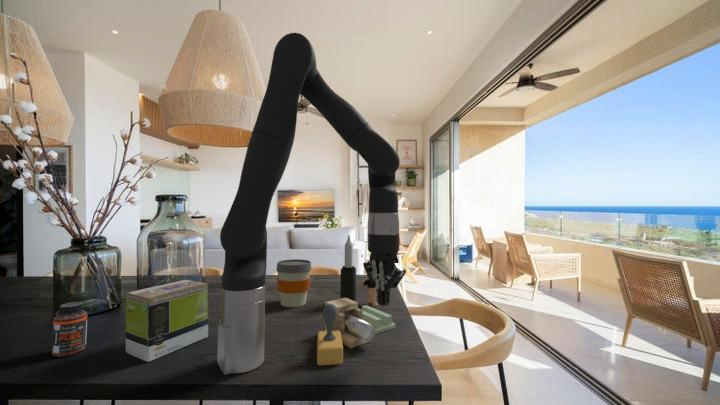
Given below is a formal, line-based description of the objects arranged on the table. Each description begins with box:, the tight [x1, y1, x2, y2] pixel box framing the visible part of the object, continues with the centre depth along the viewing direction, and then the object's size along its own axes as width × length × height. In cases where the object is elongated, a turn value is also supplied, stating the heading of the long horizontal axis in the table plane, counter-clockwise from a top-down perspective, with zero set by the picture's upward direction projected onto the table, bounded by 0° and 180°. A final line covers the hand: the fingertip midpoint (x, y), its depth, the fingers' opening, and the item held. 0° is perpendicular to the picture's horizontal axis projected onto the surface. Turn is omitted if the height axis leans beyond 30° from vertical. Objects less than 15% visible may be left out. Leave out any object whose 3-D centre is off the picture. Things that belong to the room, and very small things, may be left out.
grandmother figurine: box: [362, 273, 379, 307], centre depth 109 cm, size 8×4×13 cm, turn 58°
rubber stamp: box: [316, 304, 344, 366], centre depth 72 cm, size 10×6×12 cm, turn 7°
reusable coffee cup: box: [276, 258, 312, 308], centre depth 110 cm, size 13×13×15 cm
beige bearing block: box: [324, 298, 373, 349], centre depth 81 cm, size 7×12×8 cm, turn 39°
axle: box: [341, 312, 376, 342], centre depth 80 cm, size 14×4×4 cm, turn 39°
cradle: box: [361, 304, 397, 335], centre depth 91 cm, size 8×13×4 cm, turn 39°
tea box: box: [125, 279, 209, 363], centre depth 75 cm, size 15×10×15 cm, turn 152°
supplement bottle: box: [51, 301, 88, 358], centre depth 71 cm, size 6×6×11 cm
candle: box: [339, 235, 357, 302], centre depth 110 cm, size 5×5×25 cm
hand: (383, 304), depth 71 cm, fingers closed
